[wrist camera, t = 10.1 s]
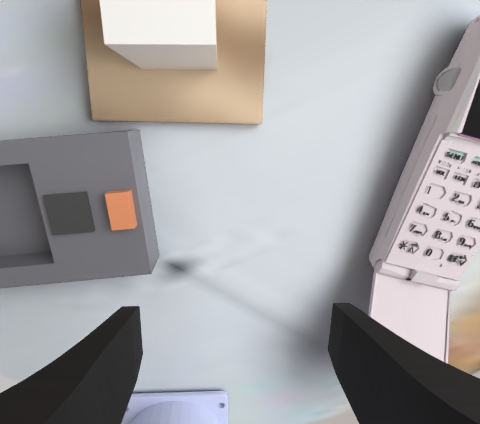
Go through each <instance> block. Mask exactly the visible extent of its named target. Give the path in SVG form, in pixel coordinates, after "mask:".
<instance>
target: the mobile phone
mask: <svg viewBox="0 0 480 424" xmlns="http://www.w3.org/2000/svg"><path fill="white" fill-rule="evenodd" d="M433 91H434V94H435V97H434V99H433V102H432V104H431V106H430V109H429V111H428V113H427V116H426V118H425V120H424V123H423V125H422V127H421V130H420V132H419V134H418V137H417V139H416V141H415V144H414V146H413V148H412V151H411V153H410V155H409V158H408V160H407V162H406V165H405V167H404V169H403V172H402V174H401V176H400V179H399V181H398V184H397V186H396V189H395V191H394V194H393V196H392V199H391V201H390V204H389V206H388V209H387V211H386V214H385V216H384V219H383V221H382V224H381V226H380V229H379V231H378V234H377V237H376V239H375V242H374V244H373V247H372V249H371V252H370V254H369V260H370V262H371V264H372V266H373V268H374V274H373V281H372V289H371V296H370V304H369V311H368V316H370V317H371V318H373V319H374V320H376V321H377V322H379V323H380V324H382V325H383V326H385V327H386V328H388V329H389V330H391V331H392V332H394V333H395V334H397V335H398V336H400V337H401V338H403V339H405V340H406V341H408V342H409V343H411V344H413V345H415V346H416V347H418V348H420V349H421V350H423V351H425V352H426V353H428V354H430V355H432V356H434V357H436V358H438V359H439V360H441V361H443V362H445V363H447V364H448V346H449V318H450V291H455V290H456V289H457V288H458V287H459V286H460V284H459V281H460V279H461V277H462V276H463V274H464V272H465V270H466V268H467V267H468V265H469V263H470V261H471V259H472V258H473V256H474V254H475V252H476V251H477V249H478V247H479V245H480V16H478V17H477V18H475V19H474V20H473V21H472V22H471V23H470V24H469V26H468V28H467V30H466V32H465V34H464V36H463V38H462V40H461V42H460V44H459V46H458V48H457V50H456V52H455V54H454V56H453V58H452V60H451V62H450V64H449V66H448V67H447V68H445V69H444V70H442V71H441V72H440V73H439V75H438V76H437V77H436V79H435V82H434V85H433ZM447 298H448V301H447Z"/></svg>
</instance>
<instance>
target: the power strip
mask: <svg viewBox="0 0 480 424" xmlns="http://www.w3.org/2000/svg"><path fill="white" fill-rule="evenodd" d="M158 258H159V250H158V244H157V238H156V231H155V225H154V219H153V212H152V206H151V200H150V193H149V187H148V181H147V174H146V168H145V162H144V155H143V149H142V142H141V136H140V130H130V131H118V132H105V133H92V134H79V135H67V136H54V137H41V138H28V139H15V140H3V141H0V288H9V287H19V286H30V285H40V284H51V283H61V282H72V281H82V280H92V279H103V278H113V277H124V276H134V275H145V274H151V273H152V271H153V269H154V266H155V264H156V262H157V260H158Z"/></svg>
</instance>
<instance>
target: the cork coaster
mask: <svg viewBox="0 0 480 424" xmlns="http://www.w3.org/2000/svg"><path fill="white" fill-rule="evenodd" d="M80 2H81V12H82V22H83V32H84V42H85V52H86V62H87V72H88V81H89V91H90V101H91V111H92V120H110V121H157V122H203V123H250V124H262V115H263V89H264V64H265V38H266V12H267V0H215V2H216V41H217V70H143V69H141V68H140V67H138V66H137V65H135V64H134V63H132V62H131V61H129V60H128V59H126V58H125V57H123V56H122V55H120V54H119V53H117V52H116V51H114V50H113V49H111V48H109V47H108V46H106V45H105V44H104V36H103V27H102V18H101V9H100V0H80Z"/></svg>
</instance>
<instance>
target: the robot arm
mask: <svg viewBox="0 0 480 424" xmlns="http://www.w3.org/2000/svg"><path fill="white" fill-rule="evenodd" d="M328 351H329V354H330V358H331V361H332V364H333V367H334V370H335V373H336V375H337V378H338V380H339V382H340V384H341V386H342V388H343V390H344V393H345V395H346V397H347V399H348V401H349V403H350V405H351V407H352V409H353V411H354V413H355V415H356V417H357V420H358V422H359V424H480V379H479V378H477V377H475V376H472V375H470V374H468V373H466V372H464V371H461V370H459V369H457V368H455V367H453V366H451V365H449V364H447V363H445V362H443V361H441V360H439V359H438V358H436V357H434V356H432V355H430V354H428V353H426V352H425V351H423V350H421V349H420V348H418V347H416V346H415V345H413V344H411V343H409V342H408V341H406V340H405V339H403V338H401V337H400V336H398V335H397V334H395V333H394V332H392V331H391V330H389V329H388V328H386V327H385V326H383V325H382V324H380V323H379V322H377V321H376V320H374V319H373V318H371V317H370V316H368V315H367V314H365V313H364V312H362V311H361V310H359V309H358V308H356V307H355V306H353V305H351V304H350V303H333V309H332V318H331V327H330V336H329V344H328ZM142 355H143V350H142V336H141V322H140V309H139V306H128V307H121V308H120V309H119V310H117V311H116V312H115V313H114V314H113V315H111V316H110V317H109V318H108V319H107V320H106V321H104V322H103V323H102V324H101V325H100V326H98V327H97V328H96V329H95V330H94V331H92V332H91V333H90V334H89V335H88V336H86V337H85V338H84V339H83V340H81V341H80V342H79V343H77V344H76V345H75V346H73V347H72V348H71V349H69V350H68V351H67V352H65V353H64V354H63V355H61V356H60V357H59V358H57V359H56V360H54V361H53V362H51V363H50V364H48V365H47V366H45V367H44V368H42V369H41V370H39V371H38V372H36V373H34V374H33V375H31V376H30V377H28V378H26V379H25V380H23V381H21V382H20V383H18V384H16V385H14V386H12V387H11V388H9V389H7V390H5V391H3V392H2V393H0V424H228V394H227V393H226V392H224V391H202V392H171V393H140V394H132V393H133V390H134V387H135V384H136V381H137V377H138V373H139V369H140V364H141V360H142ZM219 403H223V404H219Z"/></svg>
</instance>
